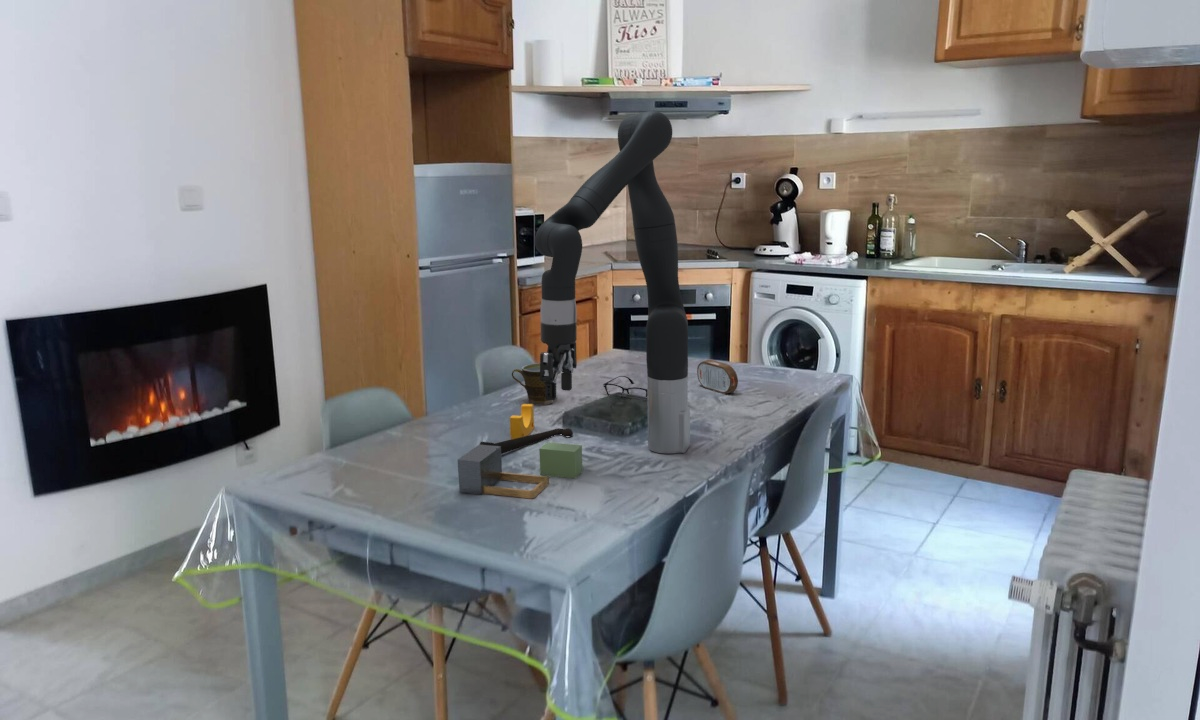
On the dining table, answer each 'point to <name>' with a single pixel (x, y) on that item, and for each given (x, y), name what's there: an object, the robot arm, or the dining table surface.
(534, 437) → the wrench
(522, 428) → the pipe clamp
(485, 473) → the grey block with frame
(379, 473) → the dining table surface
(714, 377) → the tin
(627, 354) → the dining table surface
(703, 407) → the dining table surface
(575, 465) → the sage green upright block
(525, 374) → the ceramic cup
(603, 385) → the eyeglasses
